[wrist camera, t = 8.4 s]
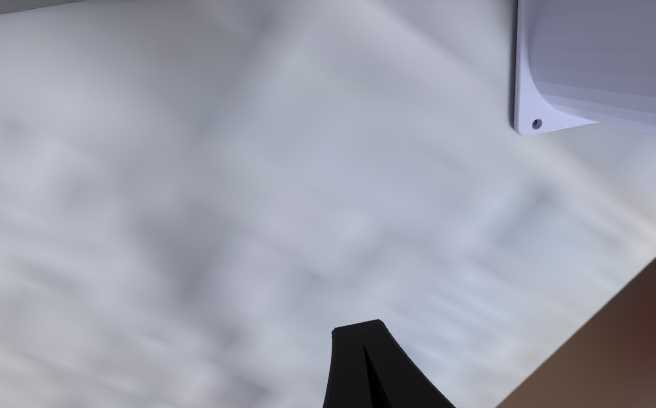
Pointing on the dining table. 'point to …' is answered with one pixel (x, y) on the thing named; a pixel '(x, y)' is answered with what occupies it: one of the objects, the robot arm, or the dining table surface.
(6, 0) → the mat
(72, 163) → the dining table surface
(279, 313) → the dining table surface
